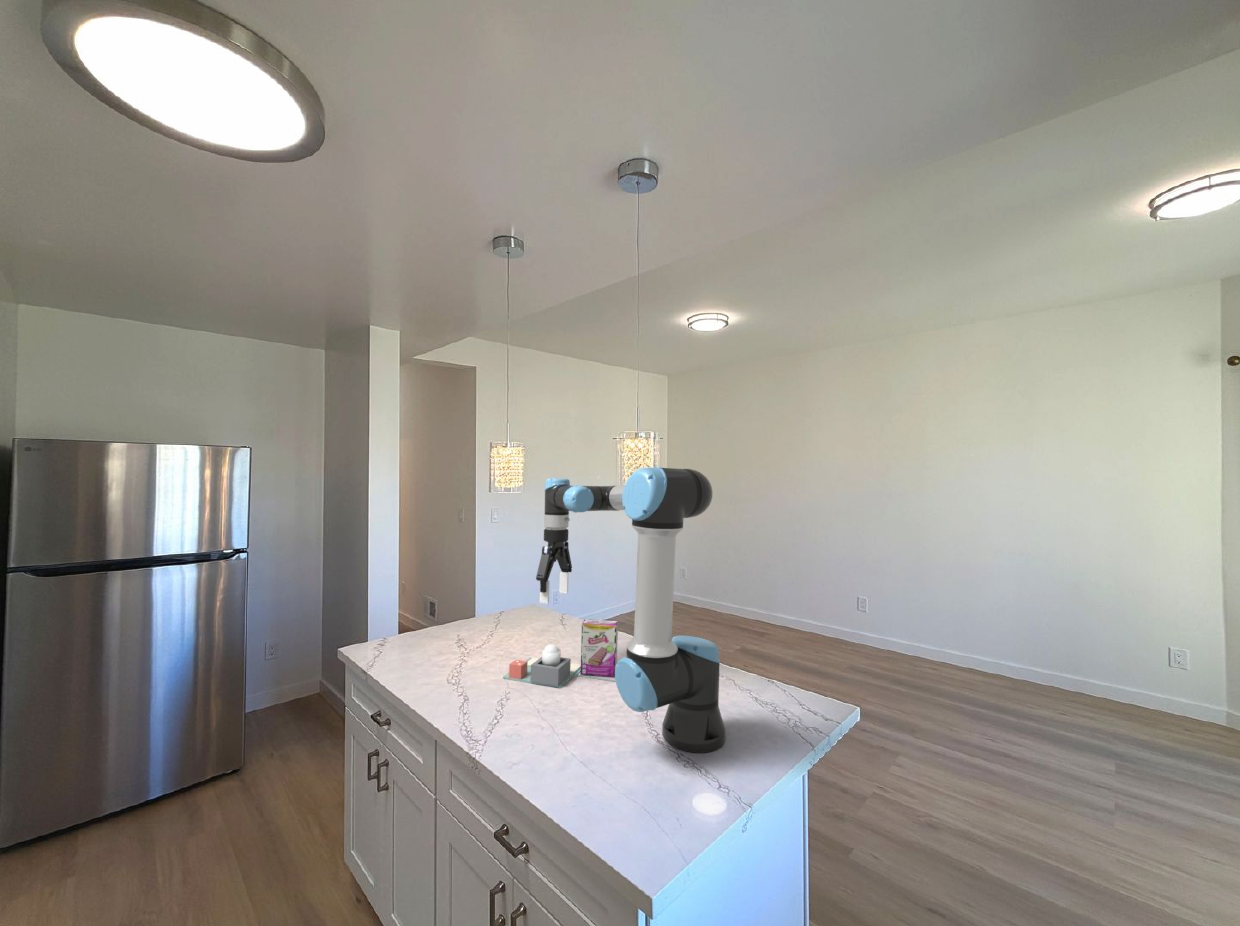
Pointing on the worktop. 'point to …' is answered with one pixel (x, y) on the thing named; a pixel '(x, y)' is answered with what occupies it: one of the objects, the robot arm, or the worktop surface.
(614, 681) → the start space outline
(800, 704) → the worktop surface
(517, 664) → the game board
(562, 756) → the worktop surface
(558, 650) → the dome plunger
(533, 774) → the worktop surface
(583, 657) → the candy bar box
